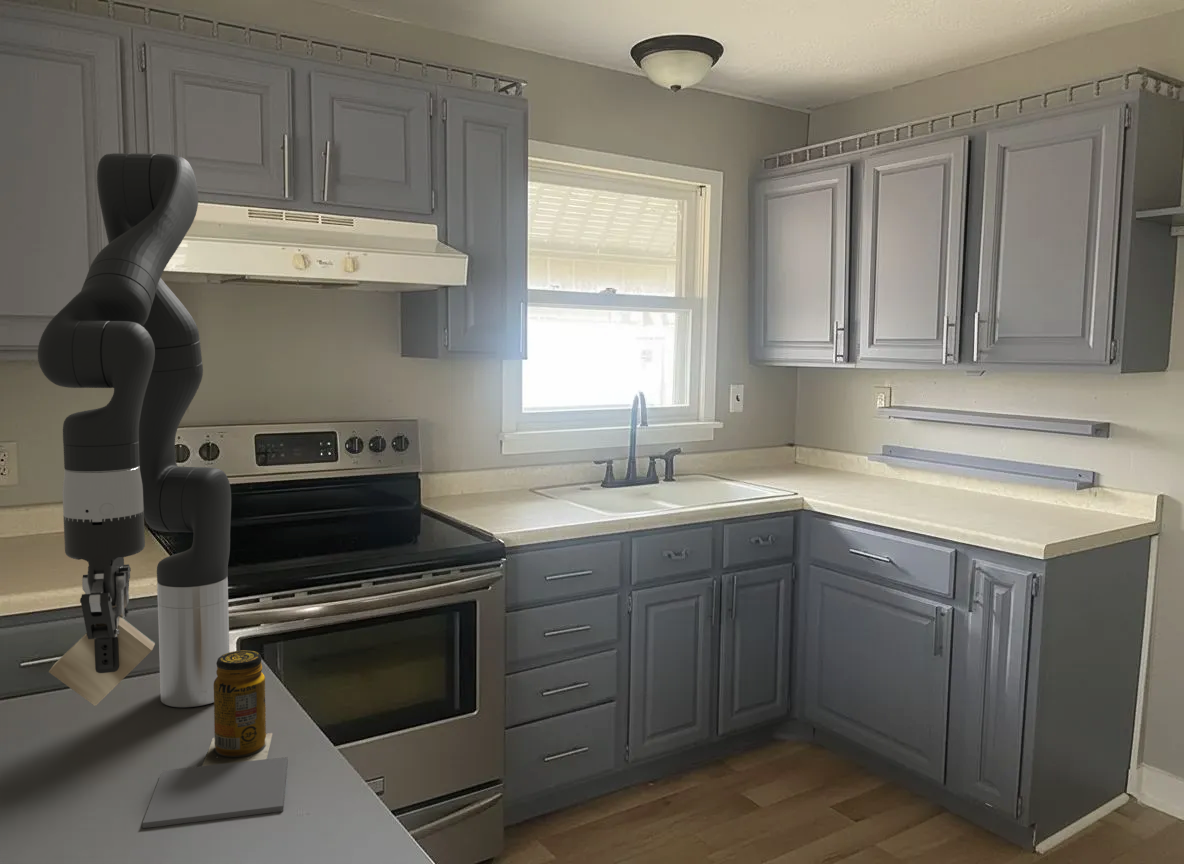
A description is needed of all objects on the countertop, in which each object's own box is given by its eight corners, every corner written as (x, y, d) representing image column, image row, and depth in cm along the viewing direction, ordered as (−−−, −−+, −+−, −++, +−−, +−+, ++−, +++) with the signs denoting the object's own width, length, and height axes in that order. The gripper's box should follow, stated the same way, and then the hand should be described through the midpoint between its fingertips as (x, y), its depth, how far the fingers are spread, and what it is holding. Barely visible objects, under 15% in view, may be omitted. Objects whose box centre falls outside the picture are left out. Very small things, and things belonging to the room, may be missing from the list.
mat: (162, 775, 106) (162, 770, 106) (287, 761, 110) (287, 756, 110) (142, 828, 94) (142, 822, 94) (283, 810, 98) (283, 805, 98)
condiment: (272, 734, 117) (270, 645, 116) (265, 764, 109) (264, 668, 108) (212, 739, 115) (210, 649, 114) (201, 770, 107) (198, 673, 106)
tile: (54, 663, 96) (111, 608, 97) (100, 697, 98) (155, 643, 99) (48, 671, 94) (106, 615, 95) (95, 706, 96) (151, 650, 97)
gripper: (78, 499, 100) (84, 649, 102) (47, 524, 87) (54, 695, 89) (152, 497, 103) (157, 643, 105) (132, 520, 90) (138, 687, 92)
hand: (110, 666), depth 97 cm, fingers closed on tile, 2 cm apart
